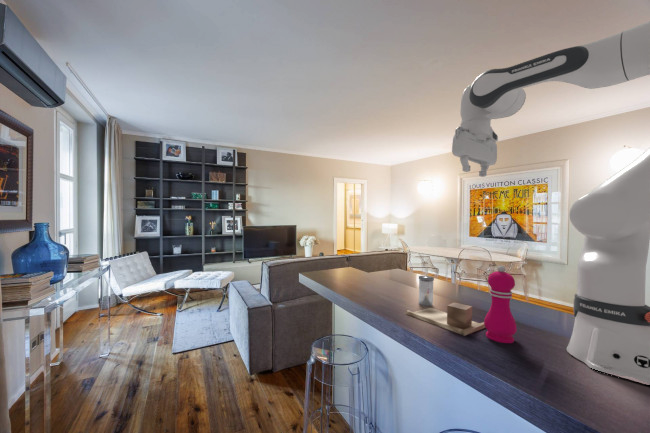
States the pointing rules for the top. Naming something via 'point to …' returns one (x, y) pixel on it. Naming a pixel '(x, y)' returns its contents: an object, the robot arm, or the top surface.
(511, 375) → the top surface
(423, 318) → the board
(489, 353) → the top surface
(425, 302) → the canister
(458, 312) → the walnut block
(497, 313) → the pepper mill
